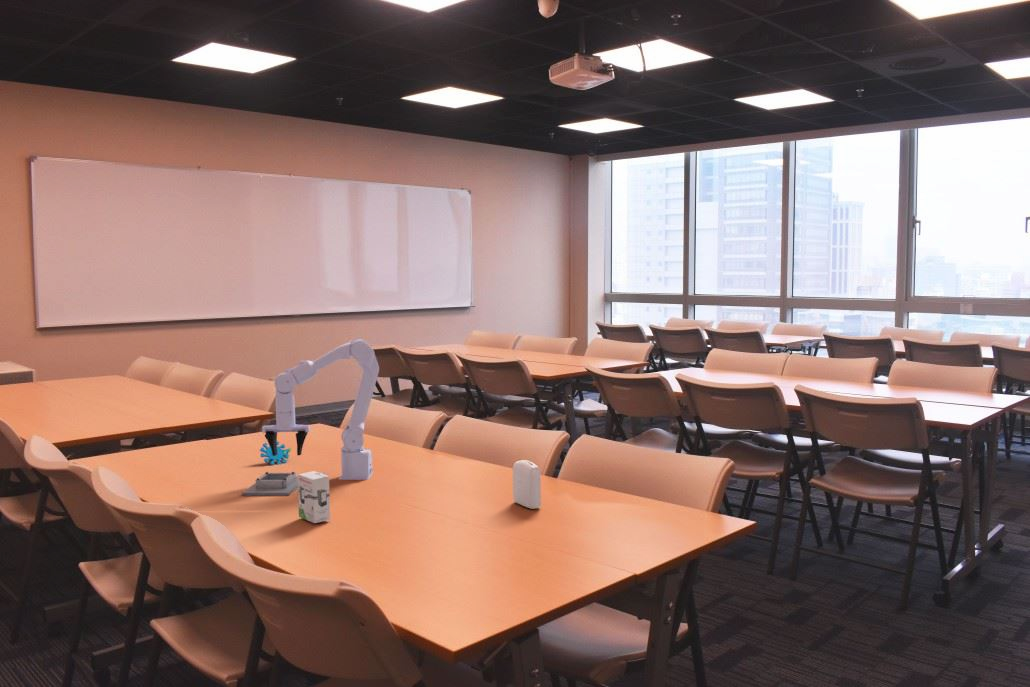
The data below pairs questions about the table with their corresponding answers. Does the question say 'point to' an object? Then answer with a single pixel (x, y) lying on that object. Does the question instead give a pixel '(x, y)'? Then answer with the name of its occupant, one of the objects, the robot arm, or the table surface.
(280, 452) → the blue spiky round piece
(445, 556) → the table surface
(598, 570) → the table surface
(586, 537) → the table surface
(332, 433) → the table surface
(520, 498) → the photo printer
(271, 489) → the tray
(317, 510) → the ink box
